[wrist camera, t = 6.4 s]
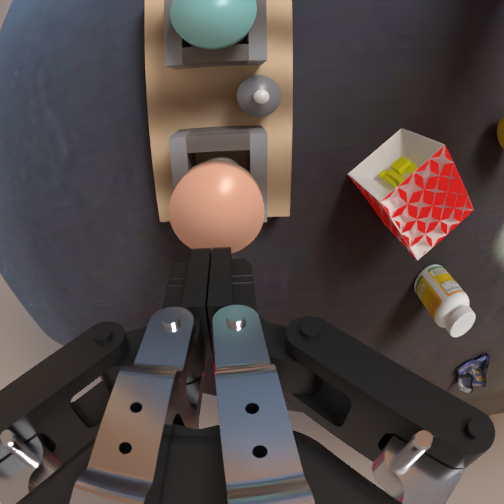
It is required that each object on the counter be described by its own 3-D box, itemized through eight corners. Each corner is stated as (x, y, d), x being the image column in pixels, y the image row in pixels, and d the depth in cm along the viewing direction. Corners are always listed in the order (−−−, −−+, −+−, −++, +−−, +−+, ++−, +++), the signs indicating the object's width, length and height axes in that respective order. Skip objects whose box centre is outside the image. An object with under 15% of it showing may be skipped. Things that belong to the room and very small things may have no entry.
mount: (153, -5, 20) (129, -30, 13) (285, -12, 20) (302, -40, 14) (165, 209, 31) (149, 246, 24) (284, 204, 31) (299, 239, 25)
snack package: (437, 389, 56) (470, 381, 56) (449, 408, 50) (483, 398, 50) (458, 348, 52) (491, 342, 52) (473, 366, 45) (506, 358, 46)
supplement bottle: (436, 256, 36) (475, 299, 28) (448, 277, 38) (483, 320, 30) (406, 282, 38) (440, 330, 29) (421, 301, 40) (452, 347, 31)
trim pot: (235, 77, 22) (236, 74, 18) (275, 76, 22) (285, 74, 18) (236, 114, 24) (237, 120, 19) (275, 113, 24) (285, 119, 19)
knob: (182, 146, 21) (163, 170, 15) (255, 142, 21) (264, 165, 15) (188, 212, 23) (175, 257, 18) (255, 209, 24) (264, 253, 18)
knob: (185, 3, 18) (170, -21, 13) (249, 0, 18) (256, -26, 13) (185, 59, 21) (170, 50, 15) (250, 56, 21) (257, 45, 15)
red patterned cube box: (401, 128, 28) (445, 144, 21) (432, 182, 31) (473, 209, 24) (346, 174, 30) (378, 202, 23) (383, 224, 33) (416, 261, 26)
